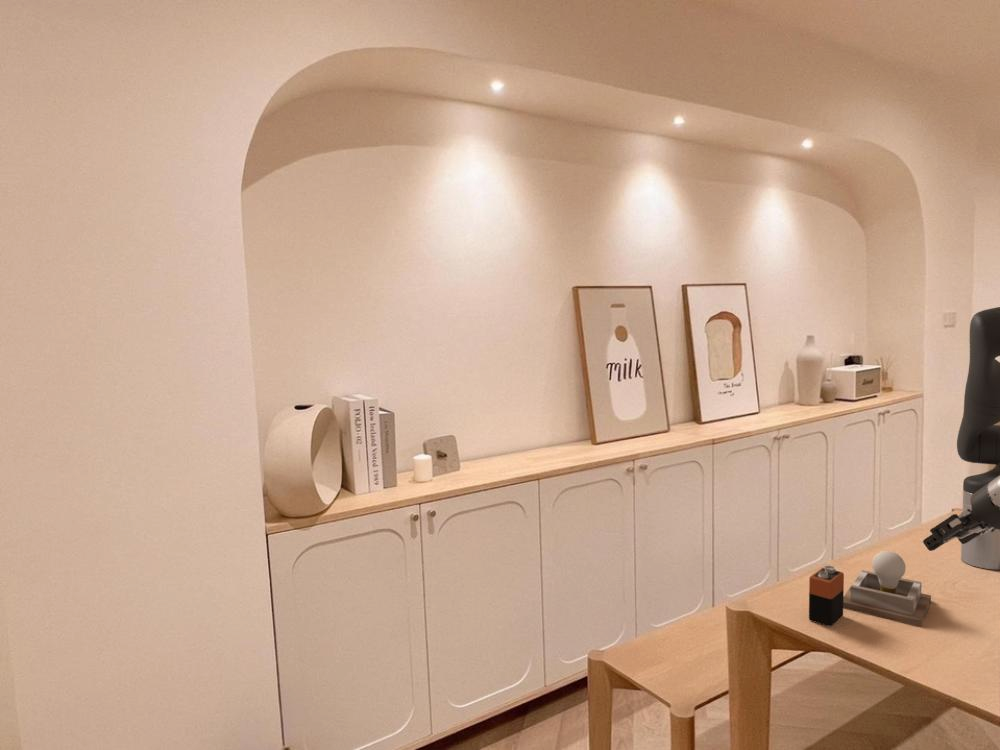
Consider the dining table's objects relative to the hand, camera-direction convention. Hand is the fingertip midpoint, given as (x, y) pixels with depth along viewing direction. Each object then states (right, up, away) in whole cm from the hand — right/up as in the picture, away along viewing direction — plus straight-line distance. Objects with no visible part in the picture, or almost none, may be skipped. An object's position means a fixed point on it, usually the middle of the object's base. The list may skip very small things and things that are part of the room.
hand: (943, 542), depth 121 cm
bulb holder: (-3, -16, +12) cm, 21 cm away
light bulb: (-3, -15, +12) cm, 20 cm away
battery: (-19, -17, +7) cm, 26 cm away
